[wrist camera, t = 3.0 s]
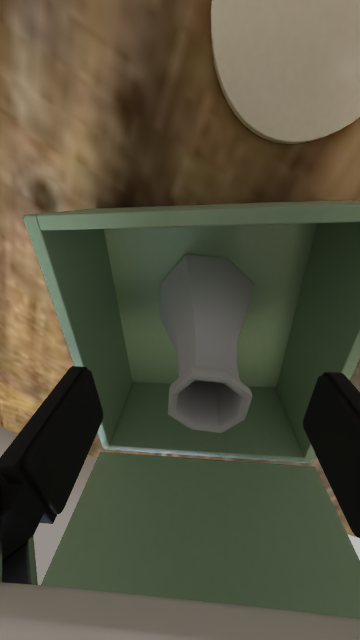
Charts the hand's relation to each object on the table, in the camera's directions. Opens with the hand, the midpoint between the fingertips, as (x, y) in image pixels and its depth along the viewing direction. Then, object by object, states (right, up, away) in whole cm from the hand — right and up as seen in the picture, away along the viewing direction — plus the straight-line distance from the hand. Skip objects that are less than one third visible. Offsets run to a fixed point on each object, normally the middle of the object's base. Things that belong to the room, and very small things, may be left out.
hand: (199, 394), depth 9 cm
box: (+1, +4, +9) cm, 10 cm away
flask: (+1, +5, +8) cm, 9 cm away
